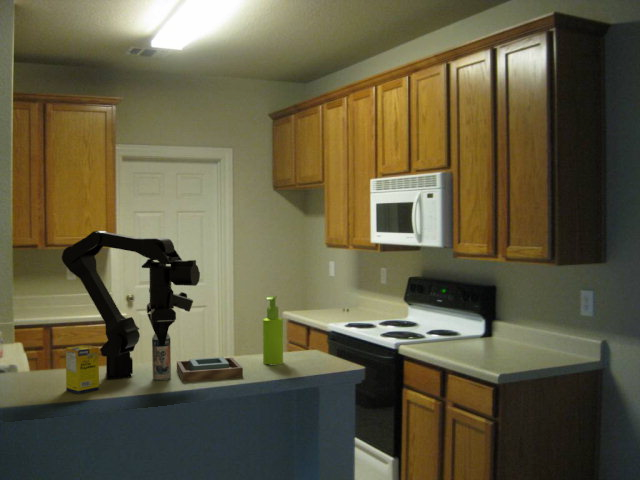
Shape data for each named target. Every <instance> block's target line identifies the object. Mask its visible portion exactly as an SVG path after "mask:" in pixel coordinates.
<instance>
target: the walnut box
mask: <svg viewBox="0 0 640 480" xmlns="http://www.w3.org/2000/svg"><path fill="white" fill-rule="evenodd" d="M224 358H225V360H226V361H227V362H228V363H229V368H223V369H210V370H196V371H190V370H189V360H176V372H177V373H178V375H179V377H180V379H181V380H182V382H183V383H184V382H195V381H197V382H198V381H207V380H208V381H209V380H211V381H212V380H220V379H222V380H223V379H232V378H233V379H234V378H243V377H244V373H243V372H244V369H243V366H241V364H240V363H238V361H236V360H235V359H234V357H231V356H230V357H224Z"/></svg>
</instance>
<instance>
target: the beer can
mask: <svg viewBox="0 0 640 480" xmlns="http://www.w3.org/2000/svg"><path fill="white" fill-rule="evenodd" d="M151 348H152V353H151V354H152V355H151V357H152V358H151V359H152V361H151V362H152V379H154V380H156V381H167V380H169V379H170V378H171V376H172V362H171V361H172V360H171V359H172V358H171V352H172V351H171V350H172V349H171V348H172V347H171V336H170V334H169V333H167V337H166V342H165V346H160V343H159V341H158V338H157V336H156V334H155V333H154V334H153V335H152V338H151Z"/></svg>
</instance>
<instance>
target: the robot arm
mask: <svg viewBox="0 0 640 480" xmlns="http://www.w3.org/2000/svg"><path fill="white" fill-rule="evenodd" d="M104 247H107V248H111V249H112V248H113V249H116V250H117V249H118V250H123V251H126V252H127V251H128V252H133V253H136V254H138V255H140V256H142V257H143V258H147V260H146V262H145V263H143V264H142V265H141V269H149V288H148V293H149V302H148V304H146V313H147V317H148V319H149V322H150V325H151V327H152V329H153V333H154V334H156V336H157V338H158V341H159V343H160V346H165V342H166V337H167V334H169V329H170V326H171V325H172V324H173V323H174V324H175V322H176V320H177V313H176V311H175V310H174V308H175V307H176V308H179V309H182V310H184V311H185V312H188V313H189V312H191V308H192V305H193V303H194V300H193V299H191V298H189V297H188V294H187V293H186V292H182V291H180V293H174V290H173V288H172V283H173V285H174V286H185V287H186V286H188V287H189V286H190V287H191V286H194V287H196V286H197V285H198V284H199V281H200V277H201V272H200V269H199V266H198V265H197V260H196V259H190V260H183V259H182V257H181V256H180V255H179V254H178V251H176V249H175V245H174V243H173V241H172V240H171V239H169V238H166V237H158V238H157V237H155V238H154V237H152V238H151V237H150V238H142V237H136V236H130V235H126V234H125V235H124V234H118V233H113V232H108V231H105V230H94V231H92V232H91V233H89V234H88V235H87V236H85V237H84V238H82V239H80V240H79V241H77V242H75V243H73V245H71V246H68V247H65V249H63V251H62V255H61V260H62V264H63V265H65V267H66V268H67V269H68V271H69V272H70V273H72V274H73V275H74V276H76V277H77V278H78V279H79V280H80V281H81V283H82V285H83V286H84V288H85V290H86V292H87V294H88V295H89V298H90V299H91V301H92V303H93V304H94V305H95V307H96V310H97V311H98V313H99V315H100V316H101V318H102V320H103V322H104V324H105V325H104V326H105V336H106V339H107V341H106V342H104V344H103V345H102V346H101V348H100V349H99V350H100V354H101V356H102V357H105V358H106V359H105V361H106V363H105V365H106V366H105V367H106V368H105V369H106V370H105V371H106V372H105V378H106V380H110V379H111V380H112V379H123V378H124V379H125V378H132V374H133V373H134V372H133V371H134V370H133V363H134V362H133V357H132V356H131V352H133V351H134V350H135V347H136V346H137V344H138V343H139V340H140V337H141V336H140V332H139V330H140V328H139V326H137V324H136V322H135V319H134V318H133V317H132V316H130V317H127V318H126V316H124V315H123V314H122V313H121V312H120V310H119V307H118V305H116V302H115V300H114V299H113V297H112V296H111V294H110V292H109V290H108V289H107V287H106V286H105V283H104V282H103V280H102V278H101V276H100V274H99V272H98V270H97V259H96V256H97V255H98V254H100V252H101V251H102V249H103V248H104Z"/></svg>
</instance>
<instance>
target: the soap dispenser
mask: <svg viewBox="0 0 640 480" xmlns="http://www.w3.org/2000/svg"><path fill="white" fill-rule="evenodd" d="M277 298H278V296H277V295H268V296H267V297H266V299H265V300H266V301H269V306H267V308H266V318H263V319H262V355H263V357H262V360H263V361H262V363H264V364H263V365H266V364H272V365H271V366H276V365H275V364H279V365H281V363H282V364H284V324H283V323H284V321H283V318H282V317H279V307H278V306H277V305H276V299H277Z"/></svg>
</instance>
